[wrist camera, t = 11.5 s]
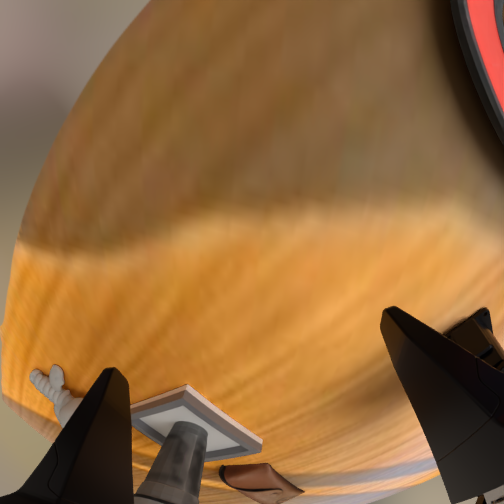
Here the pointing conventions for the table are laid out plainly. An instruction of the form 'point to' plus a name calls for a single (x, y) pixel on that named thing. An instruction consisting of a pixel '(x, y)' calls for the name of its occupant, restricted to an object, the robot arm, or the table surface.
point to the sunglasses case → (259, 483)
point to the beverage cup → (176, 468)
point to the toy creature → (56, 392)
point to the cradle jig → (195, 411)
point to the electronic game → (483, 52)
